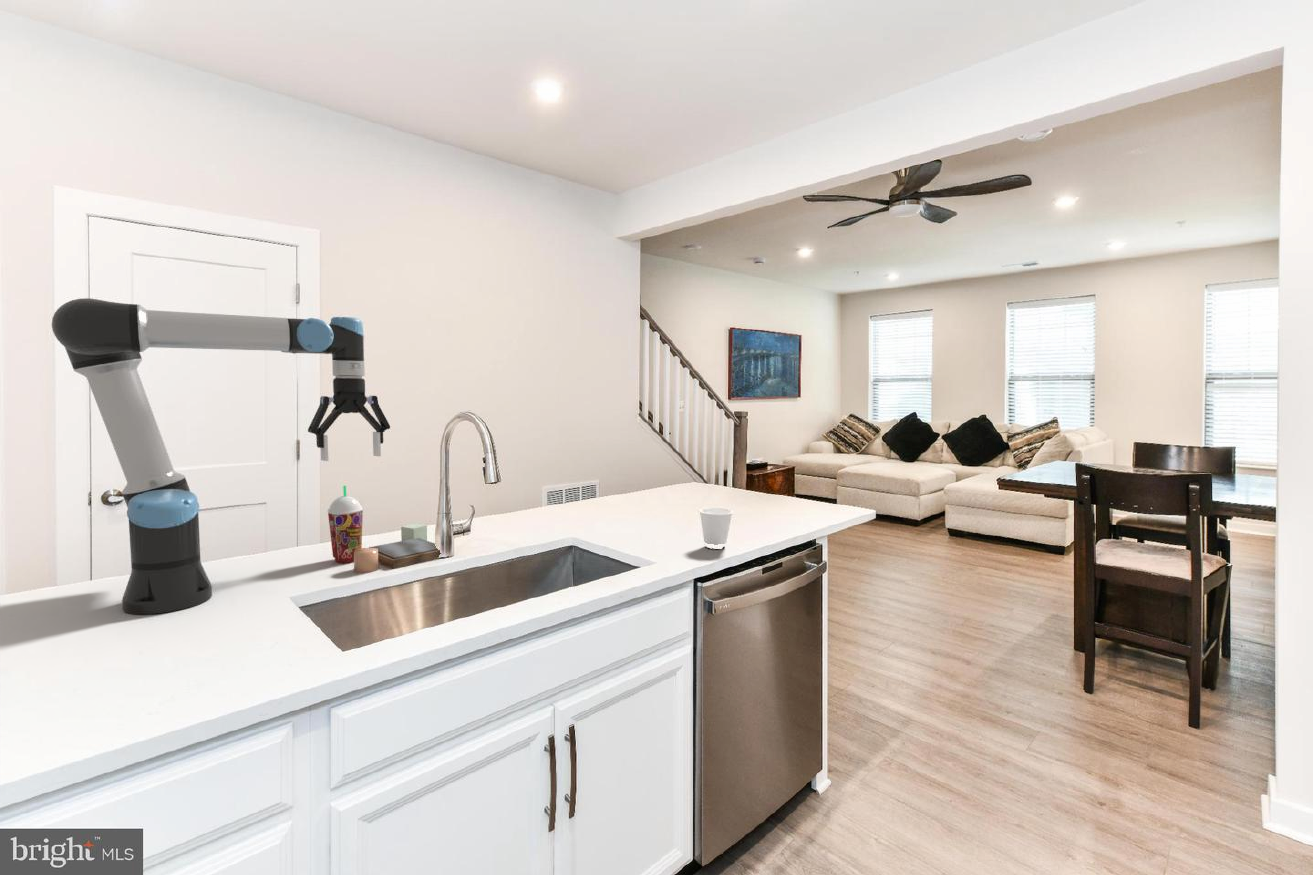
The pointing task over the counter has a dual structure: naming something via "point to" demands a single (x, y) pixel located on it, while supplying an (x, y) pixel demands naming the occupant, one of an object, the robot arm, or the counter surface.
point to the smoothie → (345, 527)
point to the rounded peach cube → (366, 560)
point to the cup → (715, 524)
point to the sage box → (414, 532)
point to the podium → (406, 553)
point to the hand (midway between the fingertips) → (351, 458)
